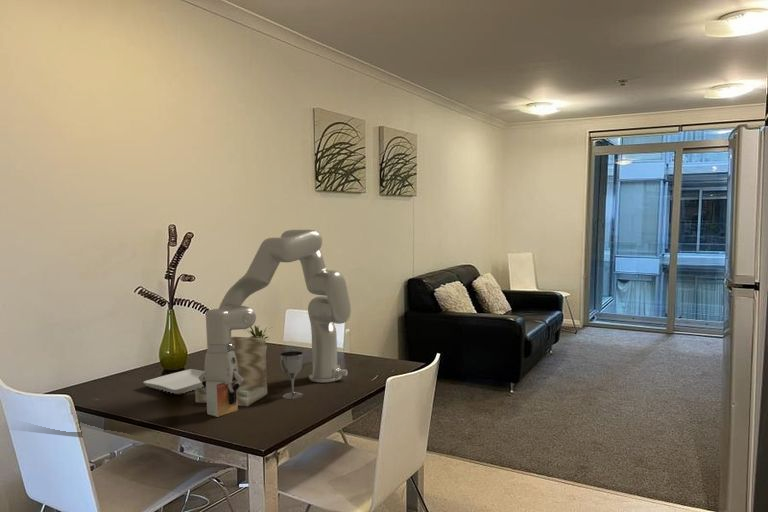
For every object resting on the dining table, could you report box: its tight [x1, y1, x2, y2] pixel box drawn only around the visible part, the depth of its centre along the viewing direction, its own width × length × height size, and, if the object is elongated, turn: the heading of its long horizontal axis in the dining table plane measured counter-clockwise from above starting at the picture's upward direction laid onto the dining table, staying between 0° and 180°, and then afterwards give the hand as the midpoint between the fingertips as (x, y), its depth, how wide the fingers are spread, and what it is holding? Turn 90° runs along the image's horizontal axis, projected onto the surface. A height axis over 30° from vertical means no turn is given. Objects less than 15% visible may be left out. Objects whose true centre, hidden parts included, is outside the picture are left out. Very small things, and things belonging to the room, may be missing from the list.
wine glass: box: [279, 350, 304, 400], centre depth 191 cm, size 8×8×15 cm
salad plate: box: [143, 368, 205, 395], centre depth 207 cm, size 21×21×3 cm
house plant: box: [241, 325, 273, 353], centre depth 243 cm, size 14×14×16 cm
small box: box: [206, 380, 239, 418], centre depth 176 cm, size 8×6×10 cm
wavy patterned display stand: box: [194, 336, 268, 407], centre depth 190 cm, size 20×13×20 cm, turn 73°
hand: (222, 402), depth 176 cm, fingers closed on small box, 7 cm apart
